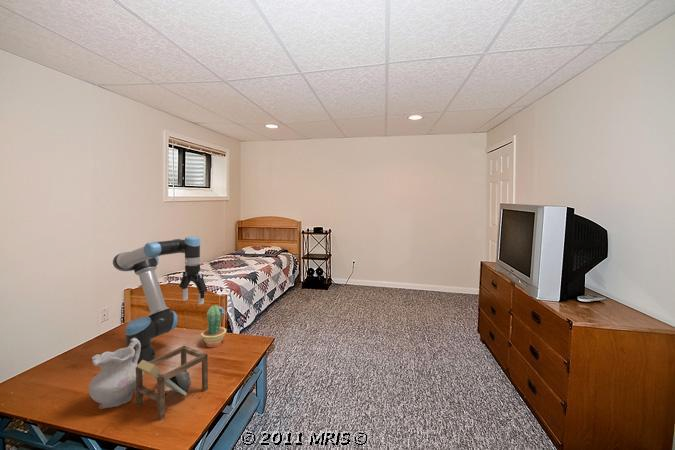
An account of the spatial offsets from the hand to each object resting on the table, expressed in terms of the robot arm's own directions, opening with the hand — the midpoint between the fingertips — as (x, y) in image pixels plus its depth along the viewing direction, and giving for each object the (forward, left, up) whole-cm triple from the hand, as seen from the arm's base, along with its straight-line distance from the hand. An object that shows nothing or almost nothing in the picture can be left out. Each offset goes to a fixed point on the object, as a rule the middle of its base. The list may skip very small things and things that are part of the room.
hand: (193, 302), depth 159 cm
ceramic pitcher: (-2, -36, -35) cm, 50 cm away
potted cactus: (-8, +20, -35) cm, 41 cm away
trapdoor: (+19, -30, -24) cm, 43 cm away
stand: (+19, -24, -35) cm, 46 cm away
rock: (+18, -24, -29) cm, 42 cm away
